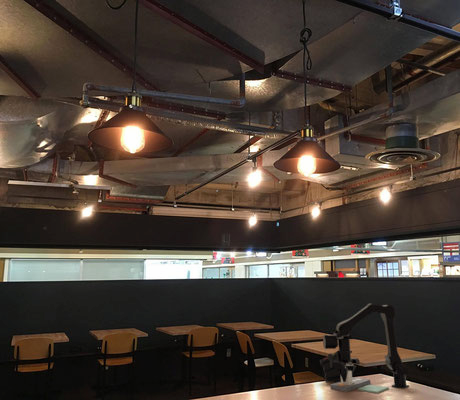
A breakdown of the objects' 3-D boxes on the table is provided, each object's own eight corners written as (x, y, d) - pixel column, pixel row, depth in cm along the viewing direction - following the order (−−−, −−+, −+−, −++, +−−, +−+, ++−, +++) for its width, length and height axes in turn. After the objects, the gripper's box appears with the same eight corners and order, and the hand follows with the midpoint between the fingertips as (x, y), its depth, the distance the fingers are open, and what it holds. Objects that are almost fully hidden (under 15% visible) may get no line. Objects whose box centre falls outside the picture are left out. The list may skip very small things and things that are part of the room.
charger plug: (345, 386, 217) (344, 369, 218) (352, 387, 214) (351, 370, 216) (341, 387, 214) (340, 370, 215) (348, 388, 211) (347, 371, 213)
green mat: (369, 386, 216) (369, 384, 216) (388, 389, 209) (388, 387, 209) (357, 390, 208) (357, 388, 208) (377, 393, 201) (377, 391, 201)
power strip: (358, 380, 231) (358, 375, 231) (374, 382, 225) (373, 377, 225) (330, 389, 211) (330, 383, 212) (347, 391, 205) (346, 385, 206)
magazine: (352, 378, 227) (338, 352, 230) (331, 390, 226) (317, 363, 229) (350, 377, 231) (337, 351, 234) (329, 388, 230) (316, 362, 233)
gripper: (339, 345, 230) (341, 376, 226) (320, 349, 217) (322, 382, 213) (358, 347, 222) (361, 379, 219) (340, 350, 209) (342, 385, 206)
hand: (346, 381), depth 214 cm, fingers closed on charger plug, 4 cm apart
